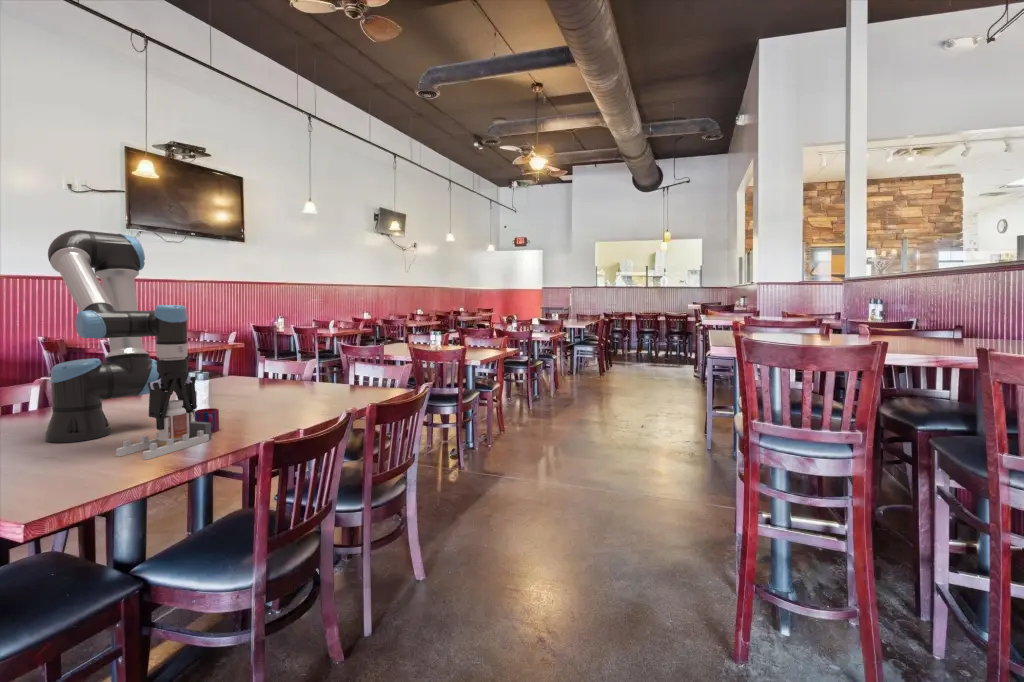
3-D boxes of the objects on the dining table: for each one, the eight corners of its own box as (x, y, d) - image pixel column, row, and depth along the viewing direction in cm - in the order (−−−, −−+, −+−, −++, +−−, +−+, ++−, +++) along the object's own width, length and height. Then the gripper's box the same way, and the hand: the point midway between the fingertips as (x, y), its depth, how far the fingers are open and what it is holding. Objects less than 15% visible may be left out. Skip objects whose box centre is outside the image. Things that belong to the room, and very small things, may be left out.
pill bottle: (188, 435, 154) (187, 398, 153) (185, 440, 148) (184, 402, 148) (163, 437, 151) (162, 399, 151) (159, 442, 146) (158, 403, 145)
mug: (218, 427, 172) (217, 407, 171) (220, 434, 164) (220, 413, 163) (194, 430, 168) (194, 409, 168) (196, 436, 160) (195, 415, 159)
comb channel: (116, 456, 139) (115, 437, 138) (187, 436, 160) (186, 420, 160) (146, 459, 136) (146, 441, 136) (214, 439, 157) (214, 423, 157)
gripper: (151, 362, 138) (154, 447, 140) (210, 356, 156) (211, 430, 158) (129, 361, 140) (132, 444, 142) (190, 355, 158) (192, 429, 160)
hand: (174, 437), depth 150 cm, fingers closed on pill bottle, 6 cm apart
